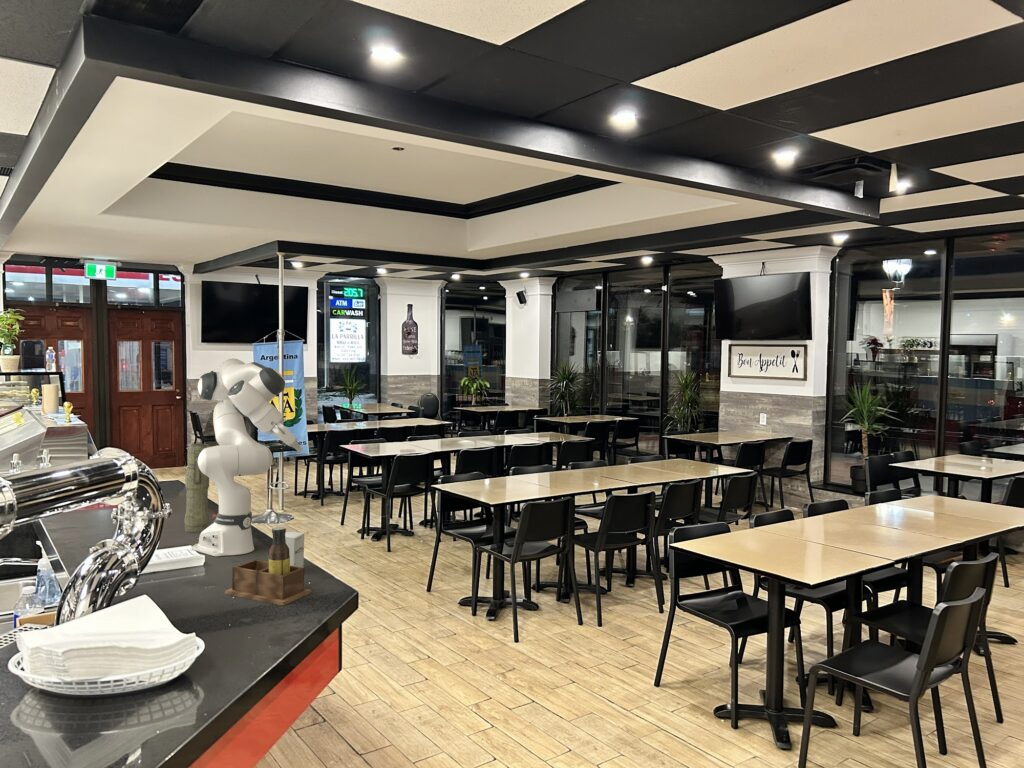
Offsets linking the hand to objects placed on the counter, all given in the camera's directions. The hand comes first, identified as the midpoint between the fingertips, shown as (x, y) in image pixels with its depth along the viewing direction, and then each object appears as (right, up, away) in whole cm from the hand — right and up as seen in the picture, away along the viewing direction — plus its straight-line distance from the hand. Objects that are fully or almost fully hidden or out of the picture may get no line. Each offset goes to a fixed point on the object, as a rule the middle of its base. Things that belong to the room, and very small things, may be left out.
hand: (298, 448), depth 252 cm
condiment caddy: (-2, -42, -26) cm, 50 cm away
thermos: (-54, -37, +44) cm, 79 cm away
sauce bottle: (+2, -42, -28) cm, 50 cm away
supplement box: (-2, -41, -3) cm, 42 cm away
